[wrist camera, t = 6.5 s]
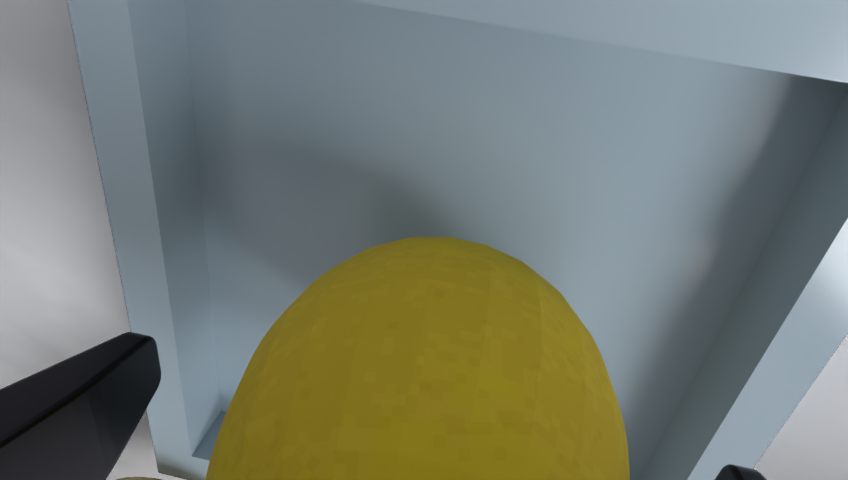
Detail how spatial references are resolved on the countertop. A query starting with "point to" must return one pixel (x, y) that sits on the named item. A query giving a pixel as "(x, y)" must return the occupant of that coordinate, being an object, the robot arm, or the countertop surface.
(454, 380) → the lemon
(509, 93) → the dish
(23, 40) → the countertop surface
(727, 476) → the robot arm
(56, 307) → the countertop surface
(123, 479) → the balance
